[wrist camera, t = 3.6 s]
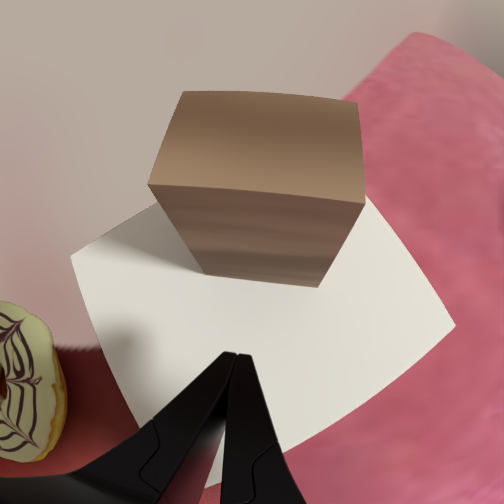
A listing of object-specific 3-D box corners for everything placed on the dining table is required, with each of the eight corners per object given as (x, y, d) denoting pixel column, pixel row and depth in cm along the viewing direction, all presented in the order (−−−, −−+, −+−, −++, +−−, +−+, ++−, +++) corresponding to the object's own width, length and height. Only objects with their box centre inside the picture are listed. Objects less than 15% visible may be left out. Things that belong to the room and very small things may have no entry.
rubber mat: (450, 327, 15) (455, 325, 15) (185, 492, 13) (183, 496, 12) (306, 133, 21) (306, 128, 20) (74, 259, 18) (70, 256, 18)
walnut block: (317, 287, 16) (365, 203, 8) (205, 275, 17) (147, 184, 8) (321, 219, 18) (357, 102, 9) (218, 209, 18) (183, 91, 10)
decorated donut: (73, 301, 17) (38, 286, 14) (94, 465, 14) (60, 480, 10) (-18, 314, 17) (-50, 303, 14) (-6, 444, 13) (-38, 448, 10)
